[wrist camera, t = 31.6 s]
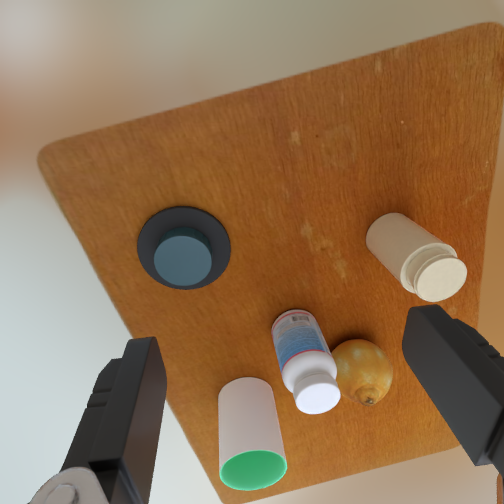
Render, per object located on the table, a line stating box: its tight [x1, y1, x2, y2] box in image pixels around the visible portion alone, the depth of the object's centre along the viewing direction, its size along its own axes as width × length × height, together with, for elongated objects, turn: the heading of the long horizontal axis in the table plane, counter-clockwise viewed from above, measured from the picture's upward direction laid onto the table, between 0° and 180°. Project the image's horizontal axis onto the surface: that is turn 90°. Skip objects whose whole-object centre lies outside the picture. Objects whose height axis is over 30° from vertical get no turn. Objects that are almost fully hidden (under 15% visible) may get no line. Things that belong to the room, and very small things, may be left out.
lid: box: [154, 227, 212, 286], centre depth 35 cm, size 6×6×2 cm
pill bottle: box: [272, 310, 340, 414], centre depth 38 cm, size 6×6×11 cm
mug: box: [218, 377, 287, 490], centre depth 44 cm, size 12×8×10 cm
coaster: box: [137, 206, 231, 290], centre depth 36 cm, size 10×10×1 cm
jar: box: [366, 213, 467, 302], centre depth 34 cm, size 6×6×10 cm
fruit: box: [331, 339, 393, 406], centre depth 43 cm, size 8×8×8 cm
